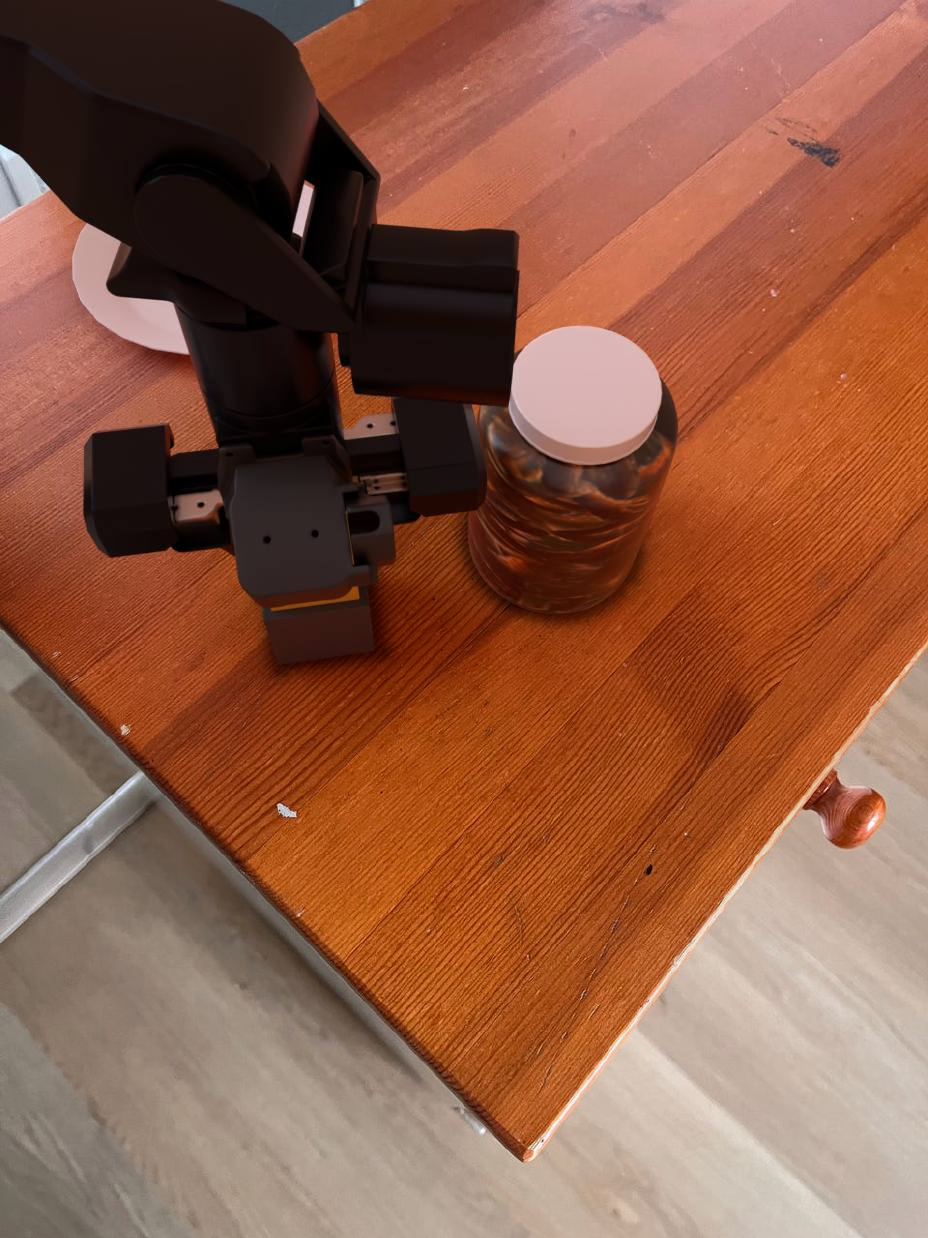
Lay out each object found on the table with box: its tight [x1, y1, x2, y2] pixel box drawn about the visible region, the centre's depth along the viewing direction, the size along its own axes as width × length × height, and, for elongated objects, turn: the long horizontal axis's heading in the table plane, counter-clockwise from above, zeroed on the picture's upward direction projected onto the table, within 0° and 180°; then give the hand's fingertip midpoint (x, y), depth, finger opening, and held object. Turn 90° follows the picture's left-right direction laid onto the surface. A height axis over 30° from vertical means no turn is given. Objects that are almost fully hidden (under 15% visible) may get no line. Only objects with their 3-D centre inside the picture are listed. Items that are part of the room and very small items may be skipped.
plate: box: [72, 183, 313, 356], centre depth 70 cm, size 21×21×2 cm
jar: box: [467, 325, 679, 615], centre depth 54 cm, size 12×12×15 cm
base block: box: [261, 585, 376, 666], centre depth 55 cm, size 6×6×6 cm
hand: (309, 559), depth 51 cm, fingers open, 5 cm apart
